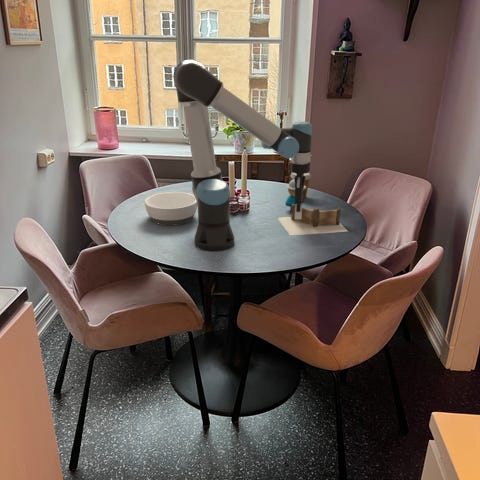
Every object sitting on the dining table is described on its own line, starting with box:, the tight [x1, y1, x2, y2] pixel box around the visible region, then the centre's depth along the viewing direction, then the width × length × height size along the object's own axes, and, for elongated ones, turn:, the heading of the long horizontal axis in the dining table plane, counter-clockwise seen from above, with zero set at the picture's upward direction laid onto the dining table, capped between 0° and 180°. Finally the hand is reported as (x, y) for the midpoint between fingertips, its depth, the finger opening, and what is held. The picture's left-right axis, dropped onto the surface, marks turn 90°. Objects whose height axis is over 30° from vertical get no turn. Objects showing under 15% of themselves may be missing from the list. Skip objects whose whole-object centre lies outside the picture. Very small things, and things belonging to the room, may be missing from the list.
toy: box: [285, 179, 306, 213], centre depth 213 cm, size 8×9×15 cm
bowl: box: [143, 191, 198, 226], centre depth 206 cm, size 22×22×8 cm
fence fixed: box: [312, 207, 342, 227], centre depth 198 cm, size 12×2×7 cm, turn 101°
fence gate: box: [290, 204, 313, 224], centre depth 201 cm, size 10×2×6 cm, turn 51°
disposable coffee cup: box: [290, 172, 312, 200], centre depth 232 cm, size 10×10×12 cm
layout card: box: [277, 216, 348, 237], centre depth 200 cm, size 24×20×1 cm
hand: (298, 218), depth 200 cm, fingers closed
